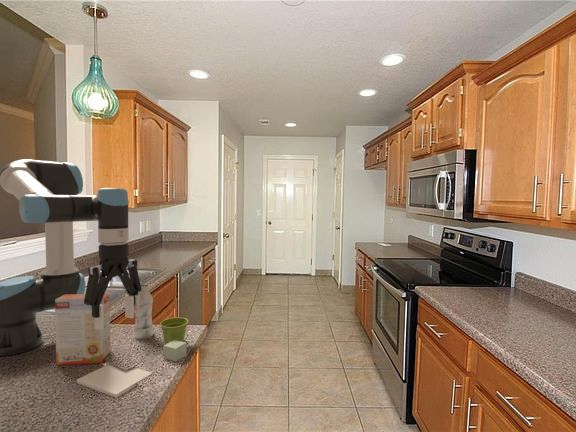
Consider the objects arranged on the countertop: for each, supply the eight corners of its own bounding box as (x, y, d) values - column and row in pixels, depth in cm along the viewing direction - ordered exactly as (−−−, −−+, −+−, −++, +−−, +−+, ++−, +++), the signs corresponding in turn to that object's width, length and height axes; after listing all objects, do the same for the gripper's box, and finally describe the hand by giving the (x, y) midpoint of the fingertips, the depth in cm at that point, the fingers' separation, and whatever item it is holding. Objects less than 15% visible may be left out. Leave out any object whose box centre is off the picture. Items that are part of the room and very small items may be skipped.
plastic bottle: (157, 338, 124) (157, 285, 123) (140, 345, 118) (140, 289, 117) (146, 334, 127) (146, 282, 126) (130, 340, 122) (129, 286, 121)
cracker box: (111, 355, 110) (110, 292, 109) (103, 364, 104) (102, 297, 103) (66, 356, 109) (65, 293, 108) (55, 365, 103) (54, 298, 102)
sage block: (163, 360, 107) (163, 345, 107) (174, 354, 112) (174, 339, 111) (175, 364, 105) (175, 348, 105) (186, 357, 109) (186, 342, 109)
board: (76, 383, 93) (76, 379, 93) (115, 364, 104) (115, 361, 104) (116, 398, 87) (116, 394, 87) (152, 376, 97) (152, 372, 97)
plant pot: (193, 346, 118) (193, 322, 117) (168, 355, 111) (168, 329, 110) (179, 338, 124) (179, 315, 124) (155, 346, 117) (155, 322, 117)
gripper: (84, 249, 82) (86, 339, 83) (154, 240, 102) (154, 313, 103) (65, 247, 85) (67, 333, 86) (136, 238, 105) (137, 309, 106)
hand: (115, 322), depth 95 cm, fingers open, 9 cm apart
